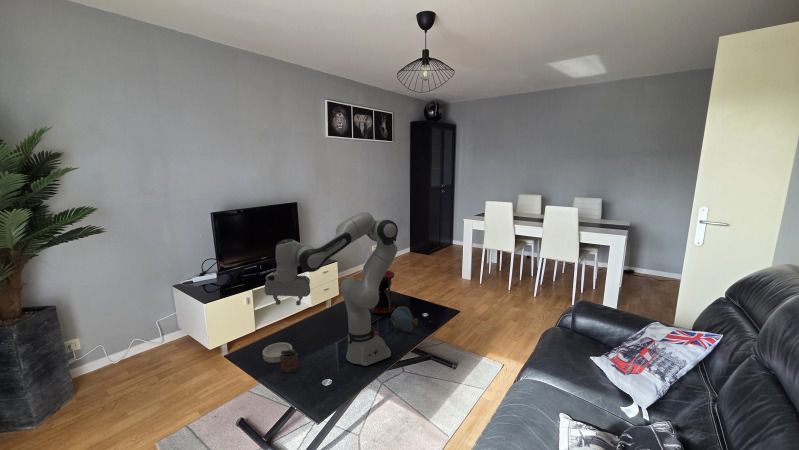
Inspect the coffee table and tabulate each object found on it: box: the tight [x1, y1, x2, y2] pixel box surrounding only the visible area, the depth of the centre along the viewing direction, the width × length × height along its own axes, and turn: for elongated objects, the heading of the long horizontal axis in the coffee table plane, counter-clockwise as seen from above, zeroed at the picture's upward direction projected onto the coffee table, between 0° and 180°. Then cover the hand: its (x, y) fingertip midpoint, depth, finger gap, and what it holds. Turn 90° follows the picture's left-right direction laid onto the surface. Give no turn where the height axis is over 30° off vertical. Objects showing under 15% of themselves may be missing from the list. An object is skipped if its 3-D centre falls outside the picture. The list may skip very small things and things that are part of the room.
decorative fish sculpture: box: [389, 306, 418, 333], centre depth 195 cm, size 12×20×15 cm, turn 56°
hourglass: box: [370, 270, 396, 315], centre depth 224 cm, size 16×16×25 cm
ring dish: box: [262, 342, 293, 364], centre depth 170 cm, size 14×14×3 cm
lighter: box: [279, 349, 300, 373], centre depth 157 cm, size 8×3×10 cm, turn 100°
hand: (288, 304), depth 153 cm, fingers open, 8 cm apart
